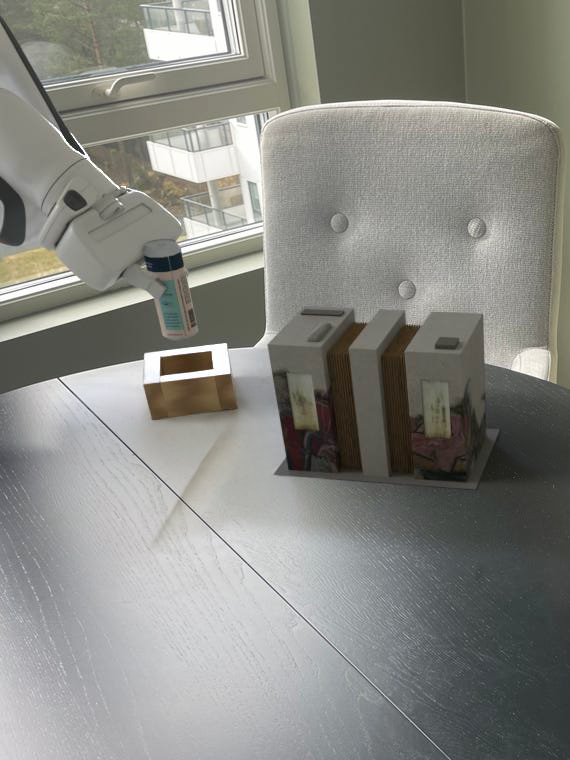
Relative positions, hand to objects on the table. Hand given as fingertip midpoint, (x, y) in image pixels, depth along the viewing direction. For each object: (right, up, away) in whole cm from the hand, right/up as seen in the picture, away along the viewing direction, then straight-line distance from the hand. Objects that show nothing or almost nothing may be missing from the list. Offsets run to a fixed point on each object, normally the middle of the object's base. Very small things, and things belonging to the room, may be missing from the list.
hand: (174, 286), depth 126 cm
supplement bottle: (0, -5, +4) cm, 7 cm away
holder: (0, -12, +9) cm, 15 cm away
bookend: (+29, -23, -5) cm, 37 cm away
